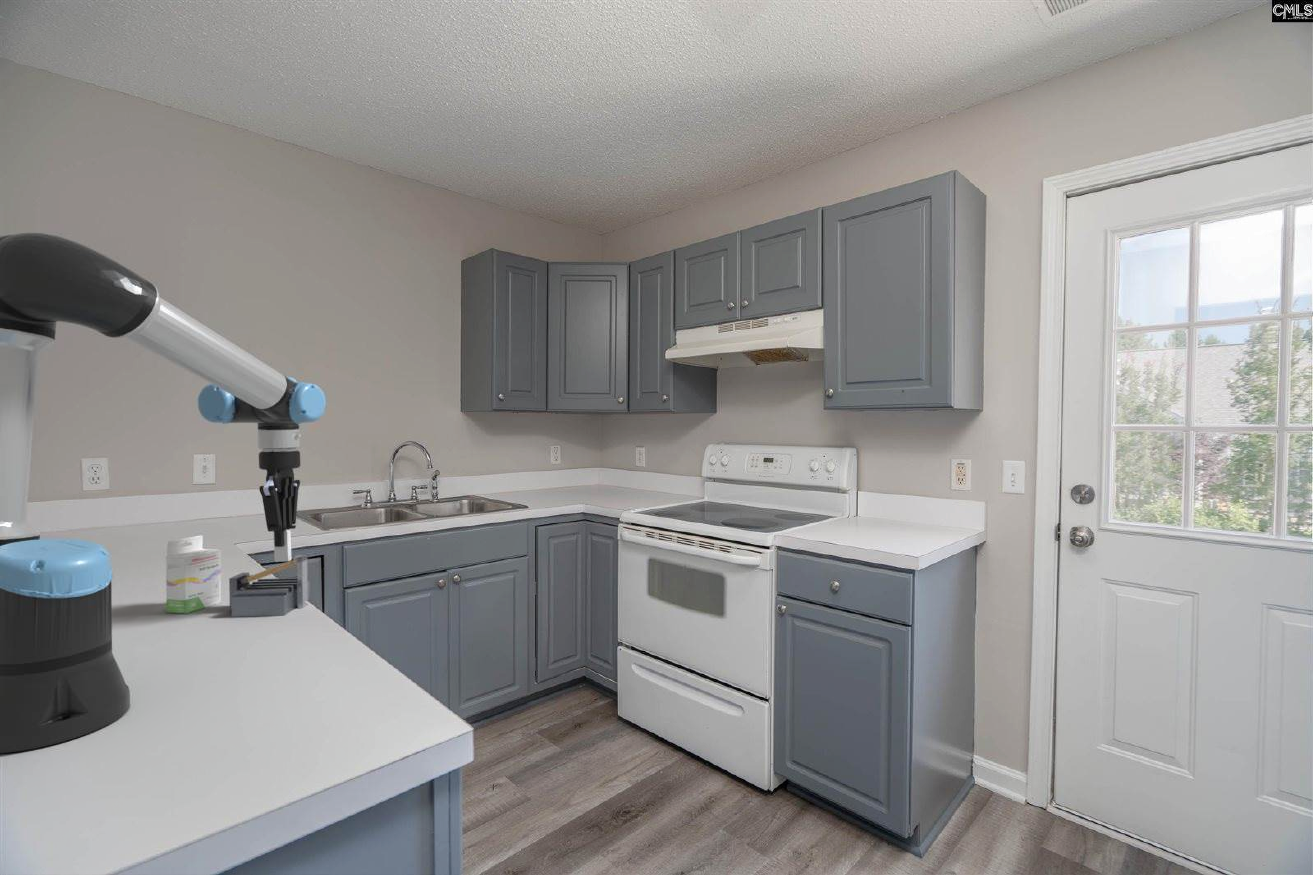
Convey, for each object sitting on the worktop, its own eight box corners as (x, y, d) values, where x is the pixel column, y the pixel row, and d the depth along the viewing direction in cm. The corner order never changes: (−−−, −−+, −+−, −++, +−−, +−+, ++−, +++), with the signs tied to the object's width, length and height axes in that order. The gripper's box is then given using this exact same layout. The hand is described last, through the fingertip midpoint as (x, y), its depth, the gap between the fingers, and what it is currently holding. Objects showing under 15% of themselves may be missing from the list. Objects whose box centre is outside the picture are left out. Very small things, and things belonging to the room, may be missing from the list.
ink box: (185, 614, 127) (184, 542, 127) (165, 613, 128) (164, 541, 128) (222, 602, 135) (221, 535, 135) (203, 601, 136) (202, 534, 136)
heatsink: (292, 615, 127) (291, 562, 126) (219, 617, 125) (219, 564, 125) (317, 598, 139) (316, 550, 138) (251, 600, 137) (250, 551, 137)
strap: (290, 567, 130) (288, 562, 130) (240, 586, 129) (238, 580, 129) (299, 563, 134) (297, 558, 134) (250, 581, 133) (248, 576, 133)
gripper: (283, 451, 125) (287, 567, 126) (311, 448, 138) (314, 553, 139) (243, 452, 124) (247, 569, 125) (275, 448, 137) (279, 554, 138)
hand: (283, 560), depth 132 cm, fingers closed
